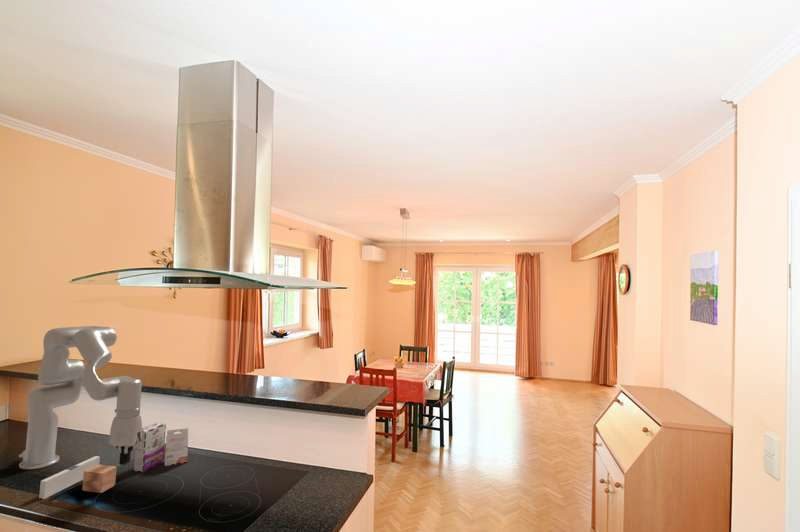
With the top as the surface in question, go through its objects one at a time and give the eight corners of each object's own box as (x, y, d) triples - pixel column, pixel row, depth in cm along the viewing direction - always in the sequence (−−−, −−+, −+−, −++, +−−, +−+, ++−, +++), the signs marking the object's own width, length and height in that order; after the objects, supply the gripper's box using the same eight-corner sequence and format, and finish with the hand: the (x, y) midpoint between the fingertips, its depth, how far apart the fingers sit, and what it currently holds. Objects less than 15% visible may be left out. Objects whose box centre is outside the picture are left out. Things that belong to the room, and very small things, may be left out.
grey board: (38, 498, 143) (40, 480, 143) (94, 471, 164) (95, 455, 165) (44, 499, 142) (45, 480, 143) (98, 471, 164) (100, 456, 164)
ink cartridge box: (186, 458, 180) (189, 424, 181) (186, 463, 175) (189, 428, 176) (164, 461, 176) (167, 427, 177) (163, 466, 171) (166, 430, 172)
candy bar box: (154, 460, 177) (157, 421, 178) (163, 461, 176) (166, 423, 177) (132, 471, 166) (135, 430, 167) (142, 472, 165) (146, 431, 166)
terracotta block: (82, 490, 149) (83, 471, 150) (96, 483, 155) (98, 464, 156) (101, 493, 148) (103, 473, 149) (115, 485, 154) (116, 466, 154)
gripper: (101, 414, 149) (98, 465, 148) (138, 417, 147) (134, 469, 146) (118, 408, 157) (115, 457, 155) (153, 411, 155) (150, 460, 153)
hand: (124, 463), depth 151 cm, fingers closed
